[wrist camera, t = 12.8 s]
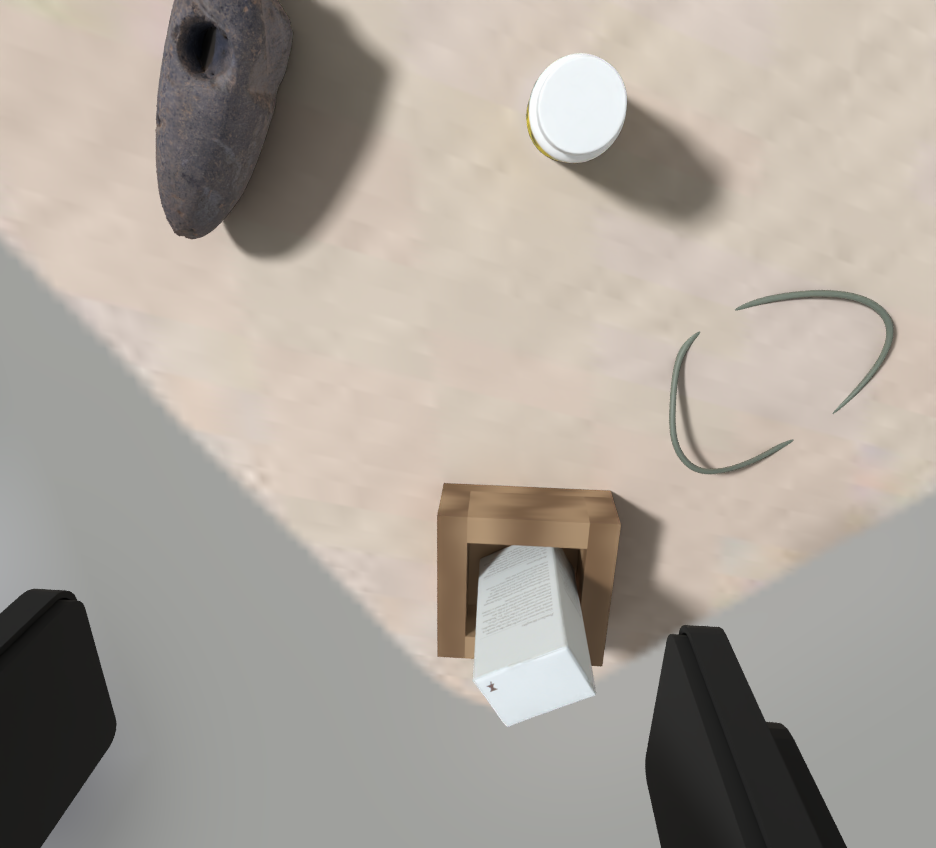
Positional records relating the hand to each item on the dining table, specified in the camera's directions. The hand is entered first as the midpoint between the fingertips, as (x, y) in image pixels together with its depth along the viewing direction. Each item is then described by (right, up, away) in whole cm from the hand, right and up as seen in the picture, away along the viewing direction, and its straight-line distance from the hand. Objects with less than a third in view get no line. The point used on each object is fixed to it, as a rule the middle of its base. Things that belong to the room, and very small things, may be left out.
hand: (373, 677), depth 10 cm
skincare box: (+6, -6, +37) cm, 38 cm away
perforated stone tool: (-12, +22, +27) cm, 37 cm away
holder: (+6, -6, +37) cm, 38 cm away
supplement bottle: (+7, +22, +26) cm, 34 cm away
